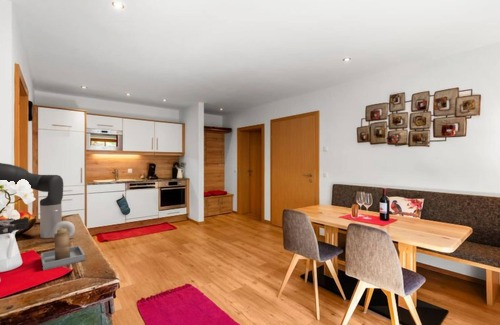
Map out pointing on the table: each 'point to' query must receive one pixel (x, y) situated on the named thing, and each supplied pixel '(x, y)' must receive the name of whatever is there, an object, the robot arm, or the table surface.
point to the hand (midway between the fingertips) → (28, 222)
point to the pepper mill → (62, 244)
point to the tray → (50, 262)
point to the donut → (63, 224)
